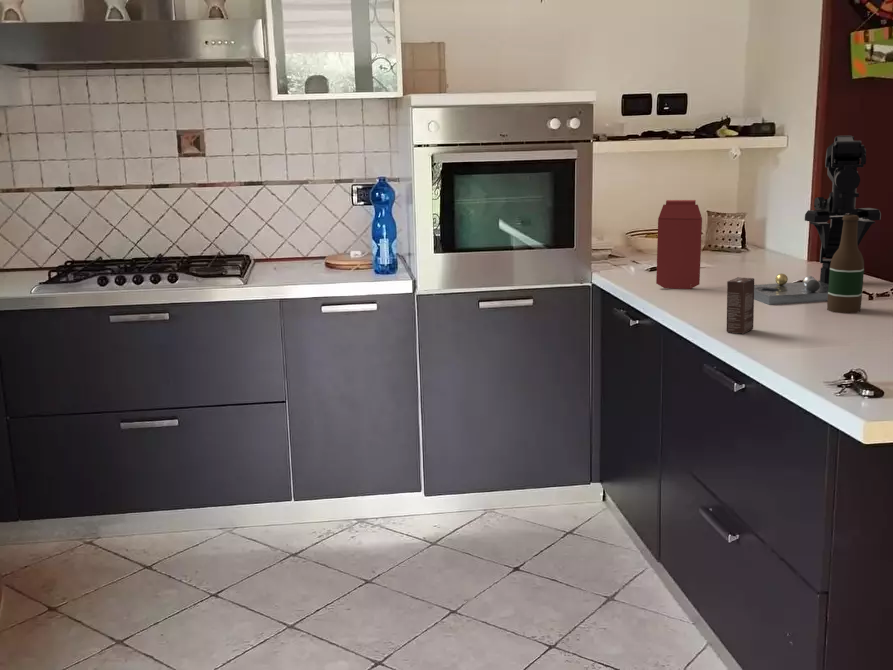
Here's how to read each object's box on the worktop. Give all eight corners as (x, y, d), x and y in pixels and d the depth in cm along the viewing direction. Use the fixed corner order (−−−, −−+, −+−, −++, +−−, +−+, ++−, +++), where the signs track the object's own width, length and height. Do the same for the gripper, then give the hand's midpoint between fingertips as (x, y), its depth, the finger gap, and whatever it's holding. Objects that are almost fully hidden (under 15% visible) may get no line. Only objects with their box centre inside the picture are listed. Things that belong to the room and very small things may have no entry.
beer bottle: (845, 316, 220) (853, 217, 214) (819, 310, 227) (826, 215, 221) (867, 312, 223) (875, 215, 218) (841, 307, 230) (848, 213, 225)
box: (734, 327, 211) (737, 276, 209) (753, 329, 208) (756, 278, 206) (724, 332, 207) (726, 280, 204) (743, 334, 204) (745, 282, 201)
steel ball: (811, 286, 246) (811, 274, 245) (817, 288, 243) (818, 276, 242) (800, 286, 245) (800, 275, 244) (806, 289, 242) (807, 277, 241)
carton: (699, 286, 264) (702, 200, 258) (699, 289, 259) (702, 201, 254) (656, 285, 267) (659, 200, 261) (656, 288, 262) (658, 201, 257)
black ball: (815, 290, 240) (816, 278, 239) (821, 292, 237) (822, 280, 236) (804, 290, 240) (804, 278, 239) (810, 293, 237) (811, 280, 236)
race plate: (817, 290, 253) (818, 281, 253) (850, 300, 238) (851, 291, 237) (740, 294, 250) (741, 285, 249) (769, 305, 235) (769, 295, 234)
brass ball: (783, 283, 250) (784, 272, 250) (789, 285, 247) (790, 274, 246) (772, 284, 250) (773, 273, 249) (778, 286, 247) (779, 274, 246)
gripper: (860, 185, 248) (855, 242, 252) (796, 188, 246) (792, 245, 250) (884, 188, 238) (879, 247, 241) (817, 191, 235) (813, 250, 239)
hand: (840, 247), depth 243 cm, fingers open, 9 cm apart
